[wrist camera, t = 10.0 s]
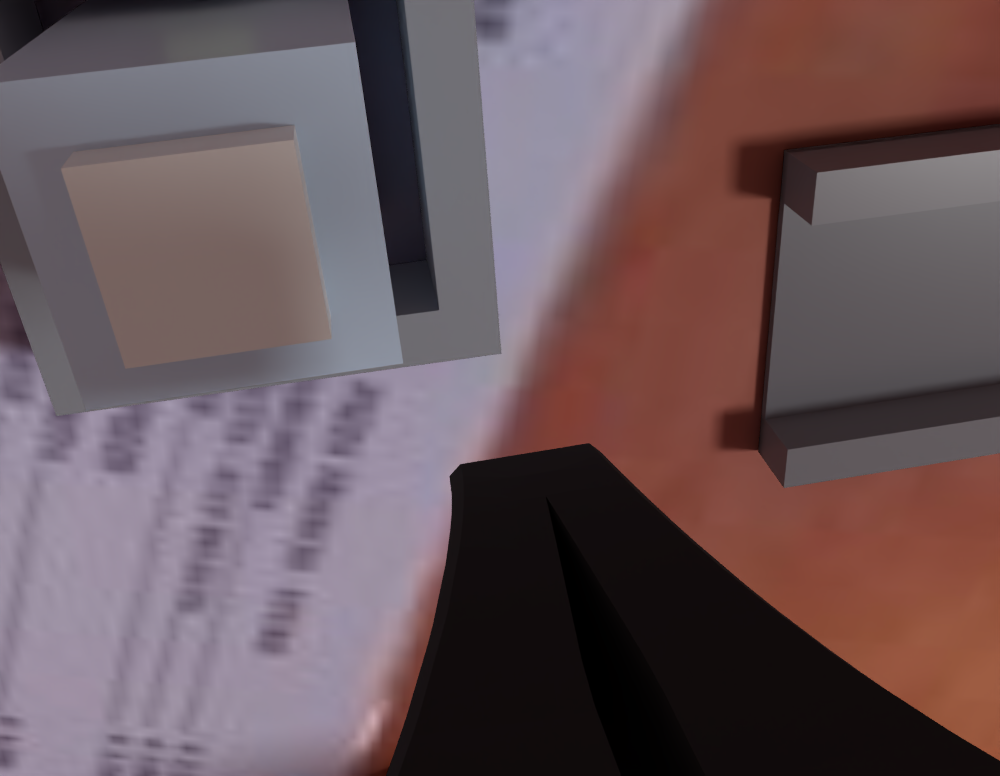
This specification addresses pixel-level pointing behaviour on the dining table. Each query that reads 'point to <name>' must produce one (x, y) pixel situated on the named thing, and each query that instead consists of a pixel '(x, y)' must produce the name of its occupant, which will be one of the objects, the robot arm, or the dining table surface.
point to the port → (442, 191)
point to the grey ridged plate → (885, 307)
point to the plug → (199, 195)
